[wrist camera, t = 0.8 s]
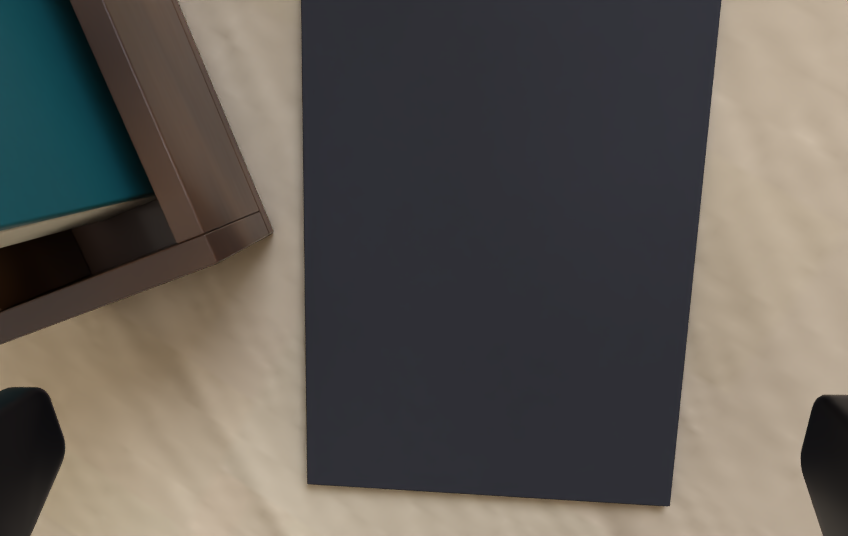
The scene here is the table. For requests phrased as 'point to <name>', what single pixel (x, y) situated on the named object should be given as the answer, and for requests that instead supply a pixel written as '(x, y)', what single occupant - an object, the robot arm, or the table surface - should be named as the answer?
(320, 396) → the felt pad
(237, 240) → the wooden box
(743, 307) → the table surface
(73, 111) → the book
